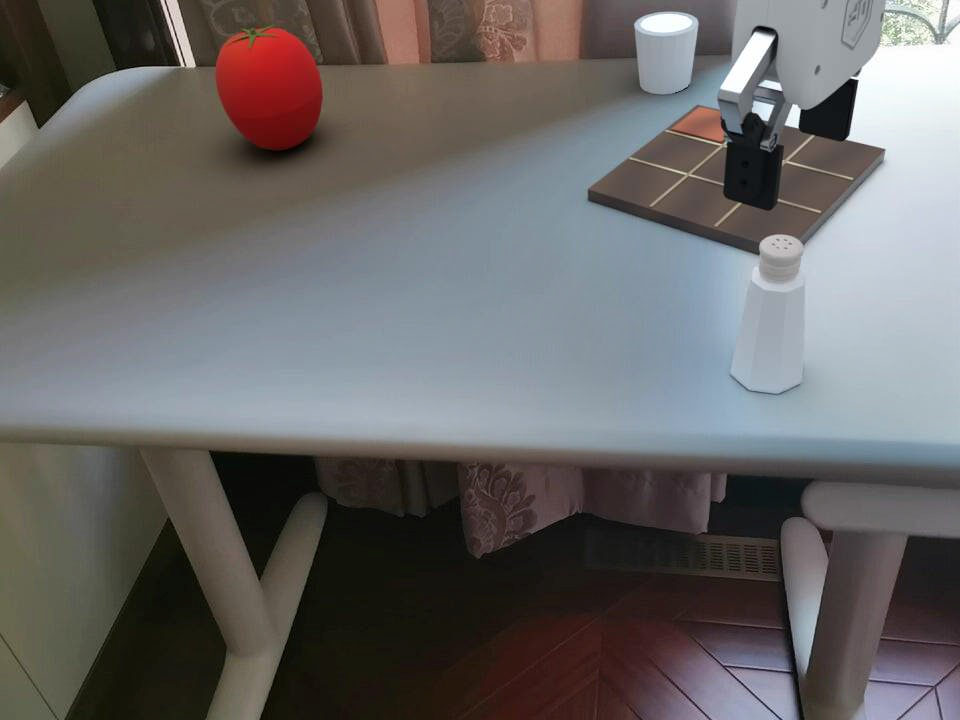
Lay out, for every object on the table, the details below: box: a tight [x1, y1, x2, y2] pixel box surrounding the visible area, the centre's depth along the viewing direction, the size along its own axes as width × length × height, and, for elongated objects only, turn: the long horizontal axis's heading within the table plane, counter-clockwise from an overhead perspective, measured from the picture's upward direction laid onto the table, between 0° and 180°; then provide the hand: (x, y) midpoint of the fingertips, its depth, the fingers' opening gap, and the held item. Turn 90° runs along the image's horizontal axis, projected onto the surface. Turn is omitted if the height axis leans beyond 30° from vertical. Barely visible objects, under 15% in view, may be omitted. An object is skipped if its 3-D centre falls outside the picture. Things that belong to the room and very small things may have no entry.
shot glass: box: [633, 11, 699, 95], centre depth 106 cm, size 7×7×7 cm
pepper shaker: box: [729, 235, 806, 395], centre depth 66 cm, size 5×5×11 cm
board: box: [587, 104, 886, 256], centre depth 90 cm, size 20×20×1 cm
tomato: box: [214, 24, 324, 151], centre depth 102 cm, size 11×11×13 cm
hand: (787, 167), depth 59 cm, fingers open, 9 cm apart
